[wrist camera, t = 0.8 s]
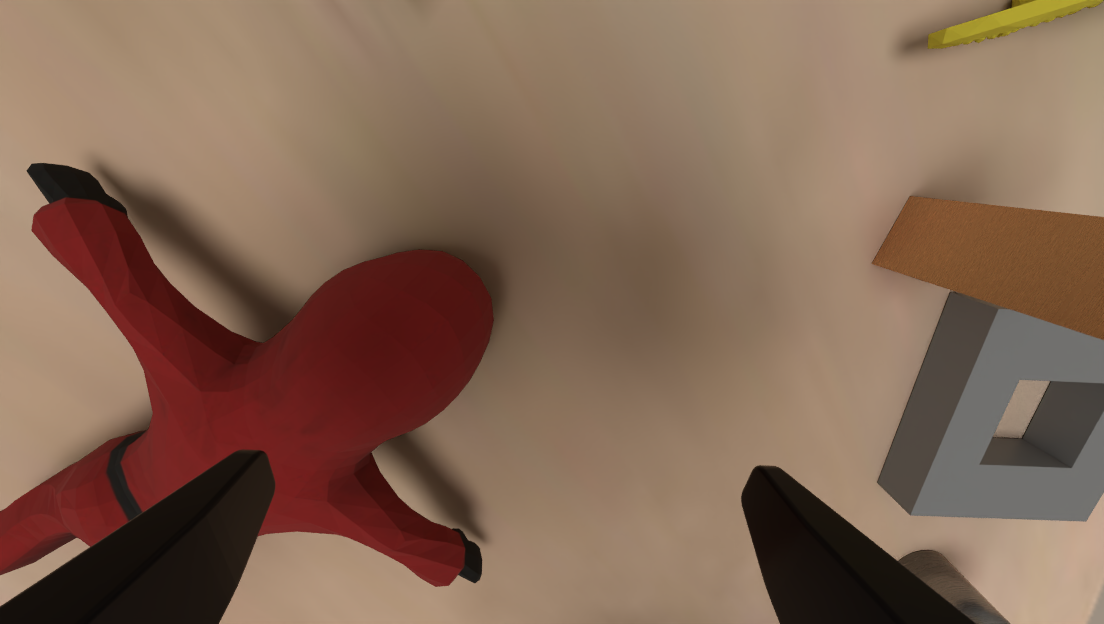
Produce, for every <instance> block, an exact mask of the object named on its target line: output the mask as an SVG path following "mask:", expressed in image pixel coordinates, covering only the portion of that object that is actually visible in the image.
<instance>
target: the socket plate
mask: <svg viewBox="0 0 1104 624" xmlns="http://www.w3.org/2000/svg"><path fill="white" fill-rule="evenodd" d="M1019 380H1039V381H1051V383H1050V385H1049V387H1048V389H1047V391H1046V393H1045V395H1044V397H1043V399H1042V401H1041V403H1040V405H1039V407H1038V409H1037V411H1036V413H1035V415H1034V417H1033V419H1032V421H1031V423H1030V425H1029V427H1028V429H1027V431H1026V433H1025V435H1024V437H1023V439H1013V438H992V437H993V435H994V433H995V431H996V428H997V426H998V424H999V422H1000V420H1001V418H1002V416H1003V414H1004V412H1005V409H1006V407H1007V405H1008V403H1009V401H1010V399H1011V397H1012V395H1013V392H1014V390H1015V388H1016V386H1017V384H1018V382H1019ZM878 484H879V485H880V486H881V487H882V488H883V489H884V490H885V491H886V492H887V493H888V494H889V495H890V496H891V497H892V498H893V499H894V500H895V501H896V502H897V503H898V504H899V505H900V506H901V507H902V508H903V509H904V510H905V511H906V512H907V513H908V514H909V515H915V516H944V517H973V518H1002V519H1031V520H1060V521H1087V519H1088V517H1089V516H1090V514H1091V513H1092V511H1093V509H1094V508H1095V506H1096V504H1097V503H1098V501H1099V499H1100V498H1101V496H1102V494H1103V493H1104V340H1102V339H1099V338H1096V337H1092V336H1089V335H1086V334H1083V333H1080V332H1077V331H1074V330H1071V329H1068V328H1065V327H1062V326H1059V325H1056V324H1053V323H1050V322H1047V321H1044V320H1041V319H1038V318H1035V317H1032V316H1029V315H1026V314H1023V313H1020V312H1017V311H1014V310H1011V309H1007V308H1004V307H1001V306H998V305H995V304H992V303H989V302H986V301H983V300H980V299H977V298H974V297H971V296H968V295H965V294H962V293H950V295H949V297H948V300H947V302H946V305H945V308H944V310H943V313H942V315H941V318H940V321H939V323H938V326H937V329H936V331H935V334H934V336H933V339H932V342H931V344H930V347H929V349H928V352H927V355H926V357H925V360H924V362H923V365H922V368H921V370H920V373H919V376H918V378H917V381H916V383H915V386H914V389H913V391H912V394H911V396H910V399H909V402H908V404H907V407H906V410H905V412H904V415H903V417H902V420H901V423H900V425H899V428H898V430H897V433H896V436H895V438H894V441H893V444H892V446H891V449H890V451H889V454H888V457H887V459H886V462H885V464H884V467H883V470H882V472H881V475H880V478H879V480H878Z"/></svg>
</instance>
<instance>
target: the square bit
mask: <svg viewBox="0 0 1104 624" xmlns="http://www.w3.org/2000/svg"><path fill="white" fill-rule="evenodd" d="M872 264H874V265H877V266H880V267H883V268H886V269H889V270H892V271H895V272H898V273H901V274H904V275H907V276H910V277H913V278H916V279H919V280H922V281H925V282H929V283H932V284H935V285H938V286H941V287H944V288H947V289H950V290H953V291H956V292H959V293H962V294H965V295H968V296H971V297H974V298H977V299H980V300H983V301H986V302H989V303H992V304H995V305H998V306H1001V307H1004V308H1007V309H1011V310H1014V311H1017V312H1020V313H1023V314H1026V315H1029V316H1032V317H1035V318H1038V319H1041V320H1044V321H1047V322H1050V323H1053V324H1056V325H1059V326H1062V327H1065V328H1068V329H1071V330H1074V331H1077V332H1080V333H1083V334H1086V335H1089V336H1092V337H1096V338H1099V339H1102V340H1104V217H1097V216H1088V215H1079V214H1070V213H1061V212H1051V211H1042V210H1033V209H1024V208H1014V207H1005V206H996V205H987V204H978V203H968V202H959V201H950V200H941V199H931V198H922V197H913V196H910V197H909V199H908V201H907V203H906V204H905V206H904V208H903V210H902V211H901V213H900V215H899V217H898V218H897V220H896V222H895V224H894V225H893V227H892V229H891V231H890V232H889V234H888V236H887V238H886V240H885V241H884V243H883V245H882V247H881V248H880V250H879V252H878V254H877V255H876V257H875V259H874V261H873V262H872Z"/></svg>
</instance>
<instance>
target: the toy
mask: <svg viewBox="0 0 1104 624" xmlns="http://www.w3.org/2000/svg"><path fill="white" fill-rule="evenodd" d="M27 172H28V174H29V175H30V177H31V178H32V179H33V181H34V182H35V184H36V185H37V187H38V188H39V189H40V191H41V192H42V194H43V195H44V196H45V198H46V199H47V201H48V202H49V203H50V204H48V205H45V206H43V207H41V208H40V209H39V210H38V211H37V212H36V213H35V214H34V217H33V224H32V232H33V233H34V234H35V235H36V237H37V238H38V239H39V240H40V241H41V242H42V244H43V245H44V246H45V247H46V248H47V249H48V251H49V252H50V253H51V254H52V255H53V256H54V257H55V258H56V259H57V260H58V261H59V262H60V263H61V264H62V265H63V266H64V267H66V268H67V269H68V270H69V271H70V272H71V273H72V274H73V275H74V276H75V277H76V278H77V279H78V280H80V281H81V282H82V283H83V284H84V285H85V286H86V287H87V288H88V289H89V290H90V292H91V293H92V294H93V295H94V297H95V298H96V299H97V300H98V302H99V303H100V304H101V306H102V307H103V308H104V309H105V311H106V312H107V313H108V315H109V316H110V317H111V319H112V320H113V321H114V323H115V324H116V325H117V327H118V328H119V329H120V331H121V332H122V333H123V335H124V336H125V337H126V339H127V340H128V342H129V343H130V345H131V346H132V347H133V349H134V351H135V353H136V355H137V357H138V359H139V361H140V364H141V366H142V368H143V370H144V373H145V378H146V383H147V387H148V392H149V397H150V402H151V406H152V411H153V415H152V418H151V422H150V426H149V429H148V430H145V431H141V432H136V433H133V434H129V435H125V436H121V437H118V438H114V439H111V440H109V441H107V442H106V443H104V444H103V445H101V446H100V447H98V448H97V449H96V450H94V451H93V452H91V453H90V454H88V455H87V456H85V457H84V458H82V459H81V460H80V461H78V462H76V463H74V464H72V465H70V466H68V467H67V468H65V469H63V470H62V471H60V472H59V473H57V474H56V475H54V476H52V477H51V478H49V479H48V480H46V481H45V482H43V483H41V484H40V485H38V486H37V487H35V488H34V489H32V490H30V491H29V492H27V493H26V494H24V495H23V496H21V497H20V498H18V499H17V500H15V501H14V502H13V503H12V504H11V505H9V506H8V507H7V508H6V509H4V510H2V511H0V575H2V574H5V573H8V572H10V571H13V570H16V569H18V568H21V567H24V566H26V565H29V564H32V563H34V562H36V561H37V560H39V559H41V558H42V557H44V556H45V555H47V554H49V553H51V552H52V551H54V550H56V549H57V548H59V547H61V546H62V545H64V544H66V543H68V542H70V541H72V540H73V539H75V538H79V539H81V540H82V541H83V542H85V543H86V544H87V545H89V546H90V547H91V546H93V545H94V544H96V543H97V542H99V541H100V540H102V539H103V538H105V537H106V536H108V535H109V534H111V533H112V532H114V531H115V530H117V529H118V528H120V527H121V526H123V525H124V524H126V523H127V522H129V521H130V520H132V519H133V518H135V517H136V516H138V515H139V514H141V513H142V512H144V511H145V510H147V509H149V508H150V507H152V506H153V505H155V504H156V503H158V502H159V501H161V500H162V499H164V498H165V497H167V496H168V495H170V494H171V493H173V492H174V491H176V490H177V489H179V488H180V487H182V486H183V485H185V484H186V483H188V482H189V481H191V480H192V479H194V478H195V477H197V476H198V475H200V474H201V473H203V472H205V471H206V470H208V469H209V468H211V467H212V466H214V465H215V464H217V463H218V462H220V461H221V460H223V459H224V458H226V457H227V456H229V455H230V454H232V453H234V452H235V451H238V450H262V451H264V452H265V453H266V454H267V456H268V459H269V462H270V466H271V469H272V472H273V475H274V479H275V492H274V496H273V498H272V501H271V503H270V506H269V509H268V511H267V514H266V516H265V519H264V521H263V524H262V526H261V529H260V531H259V534H258V536H261V535H264V534H271V533H283V532H295V531H298V532H311V533H324V534H337V535H341V536H344V537H348V538H351V539H353V540H355V541H357V542H360V543H362V544H364V545H366V546H369V547H371V548H373V549H375V550H377V551H379V552H381V553H383V554H385V555H387V556H389V557H391V558H392V559H394V560H396V561H398V562H400V563H402V564H404V565H405V566H406V567H407V568H409V569H410V570H411V571H412V572H414V573H415V574H416V575H417V576H418V577H420V578H421V579H423V580H425V581H426V582H428V583H430V584H432V585H433V586H435V587H438V586H449V585H450V584H451V583H452V581H453V580H454V579H455V578H456V577H457V575H459V576H461V577H463V578H465V579H467V580H469V581H471V582H473V583H476V582H477V581H479V580H480V577H481V574H482V557H481V552H480V548H479V547H478V546H477V545H476V544H475V543H474V542H472V541H469V540H468V539H467V538H466V536H465V534H464V533H463V532H462V531H461V530H460V529H454V528H453V529H450V528H448V527H446V526H443V525H440V524H437V523H434V522H431V521H430V520H428V519H426V518H425V517H423V516H422V515H420V514H419V513H417V512H415V511H414V510H412V509H411V508H410V507H409V506H408V505H407V504H405V503H404V502H403V501H402V500H401V499H400V498H399V497H398V496H397V495H396V493H395V492H394V490H393V489H392V488H391V486H390V485H389V484H388V482H387V481H386V479H385V478H384V477H383V475H382V474H381V472H380V471H379V468H378V466H377V464H376V462H375V460H374V457H373V455H372V453H371V452H372V451H373V450H374V449H375V448H376V447H377V446H379V445H380V444H382V443H383V442H385V441H387V440H389V439H391V438H394V437H396V436H399V435H402V434H405V433H407V432H410V431H412V430H414V429H416V428H418V427H420V426H422V425H424V424H425V423H427V422H428V421H430V420H431V419H432V418H434V417H435V416H436V415H438V414H439V413H440V412H442V411H443V410H444V409H445V408H446V407H447V406H448V405H449V404H450V403H451V402H452V401H453V400H454V399H455V398H456V397H457V396H458V395H459V393H460V392H461V391H462V390H463V388H464V387H465V386H466V384H467V383H468V382H469V381H470V379H471V377H472V376H473V374H474V372H475V370H476V368H477V367H478V365H479V363H480V361H481V359H482V357H483V354H484V352H485V350H486V347H487V345H488V343H489V339H490V335H491V330H492V326H493V321H494V318H493V309H492V301H491V297H490V295H489V293H488V291H487V289H486V288H485V286H484V284H483V282H482V280H481V278H480V277H479V276H478V275H477V274H476V273H475V272H474V271H473V270H472V269H471V268H470V267H469V266H468V265H467V264H466V263H465V262H464V261H463V260H461V259H458V258H456V257H454V256H452V255H450V254H448V253H445V252H443V251H433V250H420V249H419V250H412V251H405V252H399V253H395V254H391V255H388V256H385V257H381V258H377V259H373V260H369V261H365V262H362V263H360V264H357V265H355V266H352V267H350V268H348V269H345V270H343V271H341V272H340V273H338V274H337V275H335V276H334V277H332V278H331V279H330V280H328V281H327V282H325V283H324V284H323V285H322V286H321V287H320V288H319V289H318V290H317V291H316V292H315V293H314V294H313V295H312V296H311V297H310V298H309V299H308V301H307V302H306V303H305V305H304V306H303V307H302V309H301V310H300V311H299V312H298V314H297V315H296V316H295V317H294V318H293V320H292V321H291V322H290V323H288V324H287V325H286V326H285V327H284V328H283V329H282V330H281V331H280V332H279V333H277V334H276V335H275V336H274V337H272V338H271V339H269V340H268V341H266V342H264V343H260V342H256V341H253V340H251V339H248V338H246V337H243V336H241V335H239V334H236V333H234V332H231V331H230V330H228V329H227V328H225V327H224V326H222V325H221V324H219V323H218V322H216V321H215V320H214V319H212V318H211V317H209V316H208V315H206V314H205V313H203V312H202V311H200V310H199V309H197V308H196V307H195V306H194V305H193V304H191V303H190V302H189V301H188V300H187V299H186V298H185V297H184V296H183V295H182V294H181V293H180V292H179V291H178V290H177V289H176V288H175V287H174V286H172V285H171V284H170V282H169V281H168V280H167V279H166V277H165V276H164V275H163V274H162V272H161V271H160V270H159V269H158V268H157V266H156V265H155V264H154V262H153V260H152V258H151V256H150V254H149V252H148V251H147V249H146V247H145V245H144V243H143V241H142V239H141V237H140V235H139V234H138V232H137V231H136V229H135V228H134V226H133V225H132V224H131V222H130V221H129V219H128V216H127V211H126V208H125V207H124V206H123V205H122V204H121V203H119V202H118V201H117V200H115V199H114V198H112V197H110V196H109V195H107V194H106V193H105V191H104V190H103V188H102V186H101V185H100V183H99V182H98V180H97V179H95V178H94V177H93V176H92V175H91V174H90V173H88V172H85V171H82V170H79V169H76V168H72V167H69V166H64V165H56V164H47V163H36V164H31V166H30V167H29V168H28V170H27Z"/></svg>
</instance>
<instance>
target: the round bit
mask: <svg viewBox="0 0 1104 624" xmlns="http://www.w3.org/2000/svg"><path fill="white" fill-rule="evenodd" d="M898 562H899V563H901V564H902V565H903V566H904V567H906V568H907V569H908V570H909V571H911V572H912V573H913V574H914V575H916V576H917V577H918V578H919V579H921V580H922V581H923V582H925V583H926V584H927V585H928V586H930V587H931V588H932V589H933V590H935V591H936V592H937V593H938V594H940V595H941V596H942V597H943V598H945V599H946V600H947V601H948V602H950V603H951V604H952V605H954V606H955V607H956V608H957V609H959V610H960V611H961V612H962V613H964V614H965V615H966V616H967V617H969V618H970V619H971V620H972V621H974V622H975V623H976V624H1010V623H1009V622H1008V621H1007V620H1006V619H1005V618H1004V617H1003V616H1002V615H1001V614H1000V613H999V612H998V611H997V610H996V609H995V608H994V607H993V606H992V605H991V604H990V603H989V602H988V601H987V600H986V599H985V598H984V597H983V596H982V595H981V594H980V593H979V592H978V591H977V590H976V589H975V588H974V587H973V586H972V585H971V584H970V582H969V581H968V580H967V579H966V578H965V577H964V576H963V575H962V574H961V573H960V572H959V571H958V570H957V569H956V568H955V567H954V566H953V565H952V564H951V563H950V562H949V561H948V560H947V559H946V558H945V557H944V556H943V555H942V554H940V553H938V552H936V551H931V550H922V551H917V552H913V553H911V554H908V555H906V556H905V557H903V558H902V559H900V560H899V561H898Z"/></svg>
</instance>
